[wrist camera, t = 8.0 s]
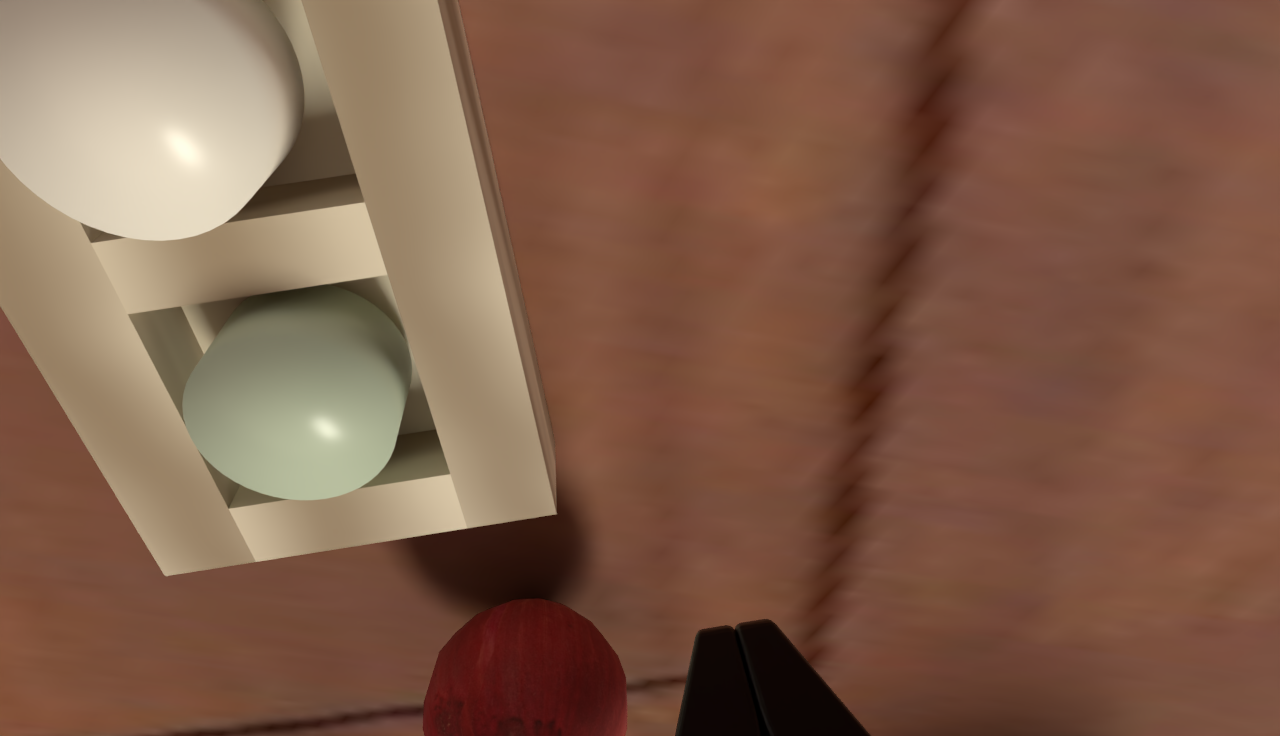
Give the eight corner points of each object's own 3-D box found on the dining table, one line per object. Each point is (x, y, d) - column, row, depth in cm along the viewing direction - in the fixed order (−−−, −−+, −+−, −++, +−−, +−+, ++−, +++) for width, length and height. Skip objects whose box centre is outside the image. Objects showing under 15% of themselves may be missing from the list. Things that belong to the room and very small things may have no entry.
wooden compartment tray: (263, -885, 11) (181, -1101, 9) (555, 443, 24) (556, 513, 21) (-482, -795, 11) (-792, -992, 8) (206, 498, 23) (165, 576, 21)
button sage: (382, 268, 19) (363, 318, 17) (432, 423, 21) (420, 483, 19) (188, 297, 19) (145, 351, 17) (260, 450, 21) (230, 513, 19)
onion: (403, 622, 27) (355, 881, 20) (511, 514, 25) (500, 761, 18) (543, 687, 29) (544, 938, 22) (652, 594, 27) (689, 838, 20)
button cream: (253, -75, 14) (205, -63, 12) (335, 175, 16) (306, 220, 14) (-8, -38, 14) (-102, -21, 12) (113, 208, 16) (51, 258, 14)
